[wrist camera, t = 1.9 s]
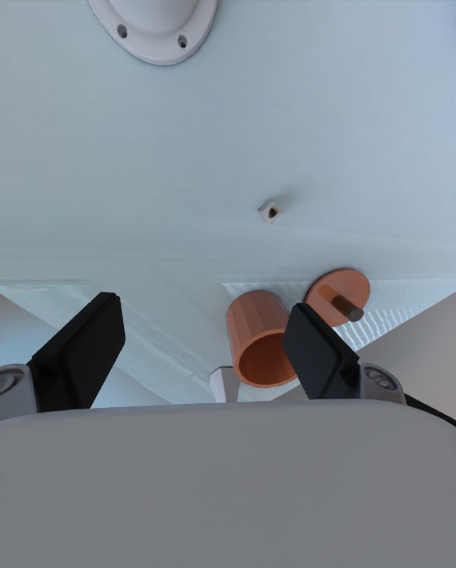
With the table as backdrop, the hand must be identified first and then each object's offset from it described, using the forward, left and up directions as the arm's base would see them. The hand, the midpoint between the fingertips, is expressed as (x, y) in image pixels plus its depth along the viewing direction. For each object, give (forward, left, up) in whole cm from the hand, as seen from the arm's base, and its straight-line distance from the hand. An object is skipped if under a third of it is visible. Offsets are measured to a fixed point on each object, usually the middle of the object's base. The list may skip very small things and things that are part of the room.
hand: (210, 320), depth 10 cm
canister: (+8, +15, -20) cm, 26 cm away
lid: (-3, +26, -19) cm, 33 cm away
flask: (+25, +19, -20) cm, 37 cm away
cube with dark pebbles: (-8, +5, -20) cm, 22 cm away
